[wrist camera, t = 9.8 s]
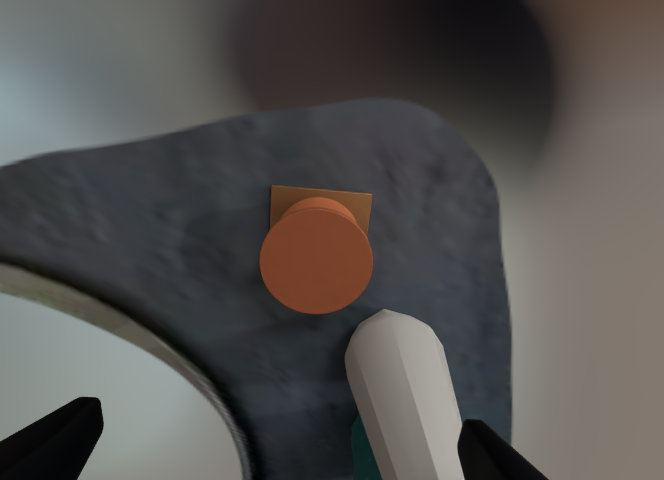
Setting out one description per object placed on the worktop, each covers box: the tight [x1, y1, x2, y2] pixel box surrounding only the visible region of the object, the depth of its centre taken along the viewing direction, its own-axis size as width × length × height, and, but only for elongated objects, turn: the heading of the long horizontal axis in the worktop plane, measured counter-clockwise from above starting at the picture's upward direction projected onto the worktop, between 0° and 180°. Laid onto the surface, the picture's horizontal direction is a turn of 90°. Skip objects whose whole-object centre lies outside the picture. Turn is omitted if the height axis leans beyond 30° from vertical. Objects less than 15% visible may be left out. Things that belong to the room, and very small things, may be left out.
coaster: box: [270, 185, 372, 237], centre depth 19 cm, size 6×6×1 cm
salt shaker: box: [345, 309, 465, 480], centre depth 15 cm, size 6×6×13 cm
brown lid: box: [259, 197, 373, 314], centre depth 17 cm, size 5×5×4 cm
